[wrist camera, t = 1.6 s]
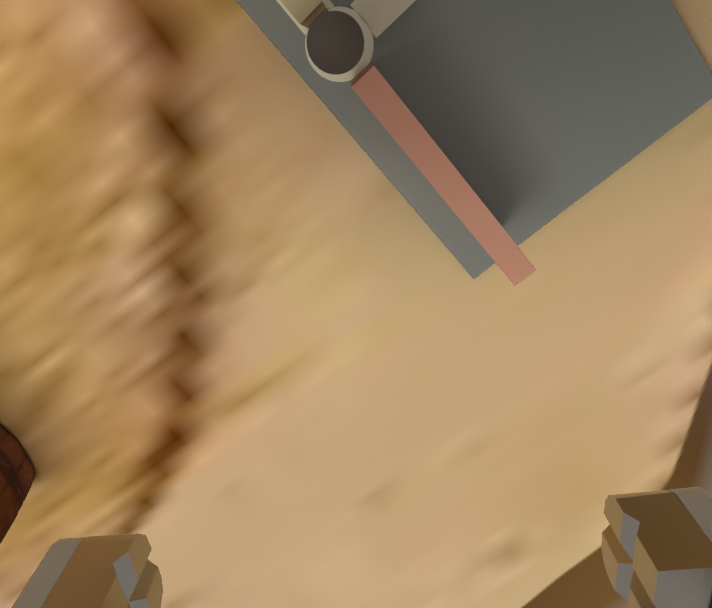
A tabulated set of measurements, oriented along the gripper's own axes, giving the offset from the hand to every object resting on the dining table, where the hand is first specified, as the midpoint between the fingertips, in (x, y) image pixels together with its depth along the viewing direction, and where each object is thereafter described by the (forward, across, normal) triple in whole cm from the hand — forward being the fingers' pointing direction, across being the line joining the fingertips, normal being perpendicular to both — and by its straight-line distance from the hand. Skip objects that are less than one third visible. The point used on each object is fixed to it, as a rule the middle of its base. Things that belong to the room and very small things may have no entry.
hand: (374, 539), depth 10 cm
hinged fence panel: (+17, -3, -4) cm, 18 cm away
